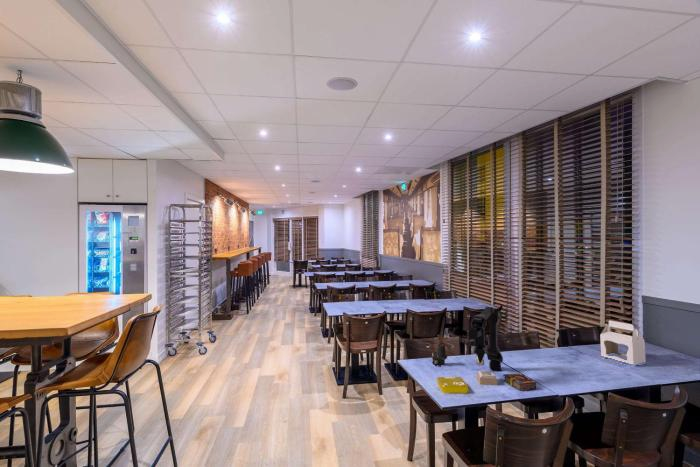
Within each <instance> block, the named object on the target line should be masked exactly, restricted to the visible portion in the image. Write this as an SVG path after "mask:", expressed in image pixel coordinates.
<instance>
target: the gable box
mask: <svg viewBox="0 0 700 467" xmlns="http://www.w3.org/2000/svg"><path fill="white" fill-rule="evenodd" d="M604 326H605V327H604V328H603V329H602V330H601V332H600V334H599V335H600V337H599V338H600V340H599V341H600V355H601V356H604V357H608V358H612V359H615V360H618V361H622V362H626V363H629V364H633V365H634V364H638V363H642V362H646V344H645V342H646V341H645V339H644V337H643V336H642V335H641V333H640V332H639V330H638V329H637V328H635V327H636V326H635V325H634V324H633V323H632V324H631V323H628V322H627V323H626V322H622V321H615V320H608V323H605V325H604ZM612 328H615V329H622V330H626V331H631V332H632V335H628V334H624V333H619V332H613V331H612ZM619 345H625V346H627V348H628V350H627V352H626V353H621V352H619ZM610 353H615V354H618V355H622V356H626V357H627V360H624V359H622V358H619V357H617V356H608V355H607V354H610ZM601 356H600V357H601Z"/></svg>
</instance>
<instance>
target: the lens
mask: <svg viewBox="0 0 700 467" xmlns="http://www.w3.org/2000/svg"><path fill="white" fill-rule="evenodd" d="M475 357H476V358H475V359H476V360H475V361H476V365H478V366H485V356H484V357H483V359H482V362H481V363H479V360H478V356H477V354H476V353H475Z"/></svg>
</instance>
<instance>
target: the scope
mask: <svg viewBox="0 0 700 467" xmlns="http://www.w3.org/2000/svg"><path fill="white" fill-rule="evenodd" d="M431 354H432V355H431V364H432V363H433V364H432V365H435V366H434V367H437V365H440V366H441V365H444V364H446V362H445V361H446V360H447V359H448V356H447V355H446V344H444V343H439V344H437V355H436V356H435V355H434V352H432V353H431ZM444 366H445V365H444Z"/></svg>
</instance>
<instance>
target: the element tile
mask: <svg viewBox="0 0 700 467" xmlns="http://www.w3.org/2000/svg"><path fill="white" fill-rule="evenodd" d="M436 378H437V379H436V380H437V382H436V383H437V384H436V385H437V386H438V388H439V390H440V392H441V393H443V394H458V395H459V394H464V395H465V394H468V393H469V385H468V384H467V383H466V381H465V380H464V379H463V378H462V377H461V376H459V377H458V376H438V377H436Z"/></svg>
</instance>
